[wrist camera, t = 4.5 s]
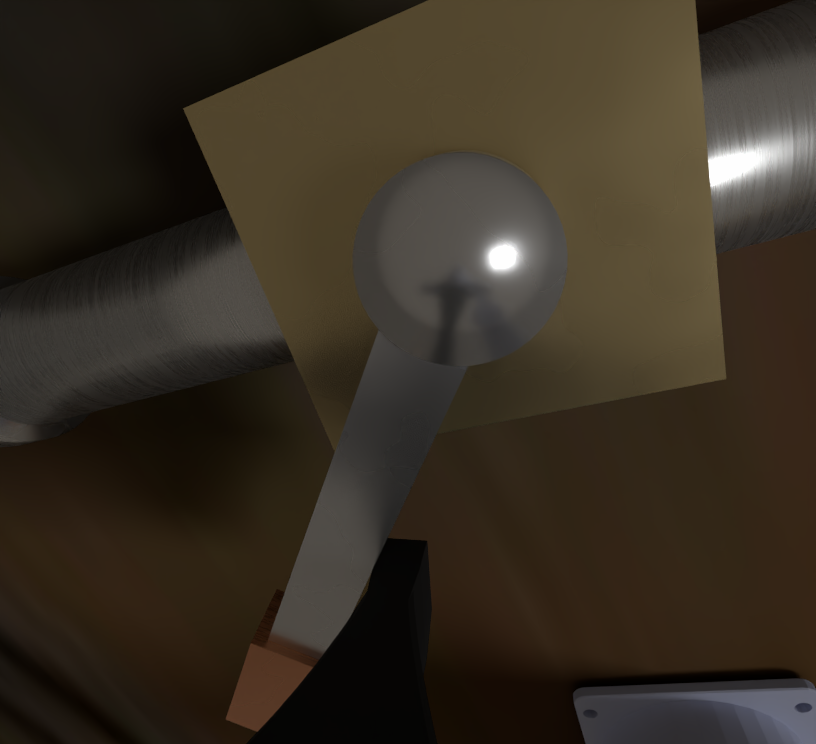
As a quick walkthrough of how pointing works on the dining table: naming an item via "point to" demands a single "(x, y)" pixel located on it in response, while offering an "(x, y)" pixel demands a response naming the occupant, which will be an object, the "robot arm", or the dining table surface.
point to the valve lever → (408, 380)
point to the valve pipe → (424, 137)
